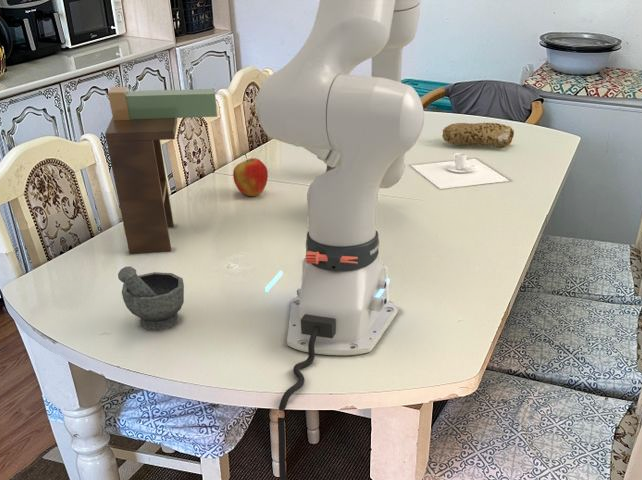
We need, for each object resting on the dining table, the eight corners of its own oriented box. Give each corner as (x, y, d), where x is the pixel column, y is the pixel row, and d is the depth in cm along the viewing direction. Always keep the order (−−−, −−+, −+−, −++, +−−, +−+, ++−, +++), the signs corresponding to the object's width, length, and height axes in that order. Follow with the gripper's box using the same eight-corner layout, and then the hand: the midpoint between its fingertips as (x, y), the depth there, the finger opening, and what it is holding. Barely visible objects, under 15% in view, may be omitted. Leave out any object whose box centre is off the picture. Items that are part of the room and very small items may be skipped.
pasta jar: (217, 110, 143) (214, 84, 140) (217, 117, 138) (214, 89, 136) (116, 114, 139) (111, 86, 136) (113, 120, 135) (107, 92, 132)
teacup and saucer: (481, 173, 188) (482, 158, 186) (454, 176, 185) (455, 160, 183) (467, 163, 195) (468, 149, 193) (441, 166, 192) (441, 151, 190)
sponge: (511, 146, 214) (450, 126, 217) (518, 123, 208) (456, 102, 212) (499, 166, 205) (436, 144, 208) (506, 142, 199) (441, 120, 203)
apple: (259, 202, 166) (255, 160, 161) (229, 197, 168) (224, 156, 163) (275, 191, 173) (272, 151, 167) (246, 187, 175) (242, 147, 169)
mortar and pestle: (155, 303, 123) (143, 240, 117) (200, 314, 120) (190, 249, 114) (111, 333, 114) (95, 266, 108) (158, 345, 111) (145, 277, 105)
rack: (192, 224, 154) (176, 112, 141) (191, 250, 142) (173, 130, 130) (135, 227, 151) (113, 114, 139) (129, 254, 140) (104, 133, 127)
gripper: (333, 117, 156) (276, 86, 150) (348, 142, 139) (285, 108, 133) (320, 142, 158) (263, 112, 152) (333, 170, 141) (270, 138, 135)
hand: (273, 110), depth 142 cm, fingers open, 8 cm apart
